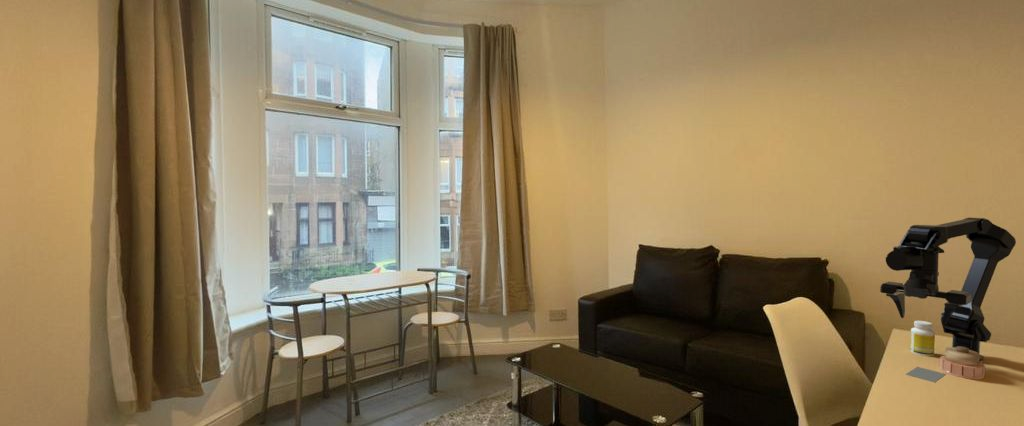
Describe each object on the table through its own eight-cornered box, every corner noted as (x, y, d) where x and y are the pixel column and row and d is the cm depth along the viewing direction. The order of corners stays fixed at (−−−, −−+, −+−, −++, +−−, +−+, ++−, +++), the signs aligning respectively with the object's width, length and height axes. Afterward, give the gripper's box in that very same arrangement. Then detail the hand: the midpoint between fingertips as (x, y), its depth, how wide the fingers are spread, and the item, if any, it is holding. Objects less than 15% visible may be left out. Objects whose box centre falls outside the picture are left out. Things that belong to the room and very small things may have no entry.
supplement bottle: (938, 357, 132) (939, 325, 132) (917, 356, 133) (918, 324, 133) (925, 351, 138) (926, 320, 137) (905, 350, 139) (906, 319, 138)
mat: (917, 368, 125) (917, 366, 125) (946, 375, 120) (946, 373, 120) (905, 375, 121) (905, 374, 121) (934, 383, 115) (934, 382, 115)
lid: (949, 355, 125) (950, 342, 125) (982, 362, 120) (982, 348, 119) (942, 360, 122) (942, 346, 121) (975, 368, 116) (975, 354, 116)
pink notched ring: (945, 365, 127) (946, 353, 126) (988, 375, 119) (988, 362, 119) (935, 372, 122) (936, 359, 122) (978, 383, 115) (979, 370, 115)
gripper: (873, 267, 131) (872, 319, 132) (960, 277, 116) (958, 335, 117) (888, 263, 137) (887, 312, 138) (973, 272, 122) (971, 327, 122)
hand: (922, 321), depth 129 cm, fingers open, 9 cm apart
